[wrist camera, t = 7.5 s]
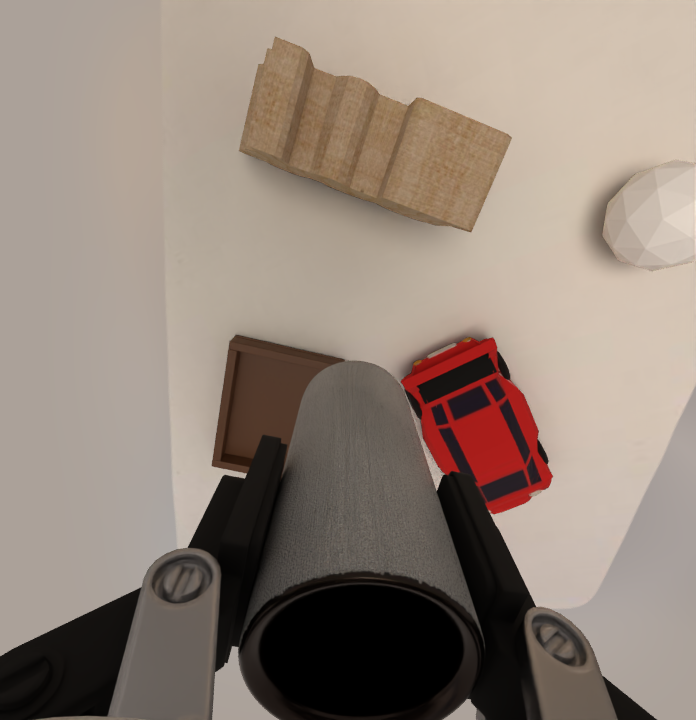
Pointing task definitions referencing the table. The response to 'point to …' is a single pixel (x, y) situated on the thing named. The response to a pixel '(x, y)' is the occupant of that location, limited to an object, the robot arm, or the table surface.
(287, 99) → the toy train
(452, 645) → the grey hollow cylinder
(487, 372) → the toy car
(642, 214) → the geometric ball
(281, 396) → the tray
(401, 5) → the table surface
